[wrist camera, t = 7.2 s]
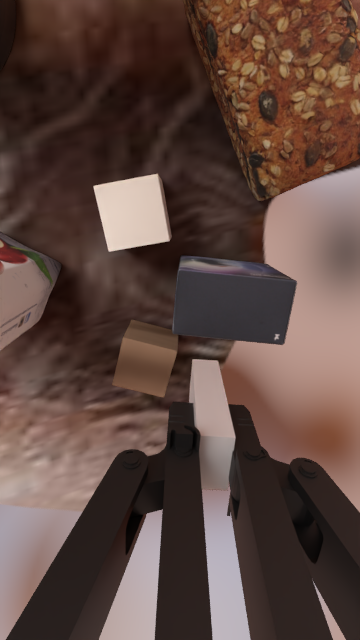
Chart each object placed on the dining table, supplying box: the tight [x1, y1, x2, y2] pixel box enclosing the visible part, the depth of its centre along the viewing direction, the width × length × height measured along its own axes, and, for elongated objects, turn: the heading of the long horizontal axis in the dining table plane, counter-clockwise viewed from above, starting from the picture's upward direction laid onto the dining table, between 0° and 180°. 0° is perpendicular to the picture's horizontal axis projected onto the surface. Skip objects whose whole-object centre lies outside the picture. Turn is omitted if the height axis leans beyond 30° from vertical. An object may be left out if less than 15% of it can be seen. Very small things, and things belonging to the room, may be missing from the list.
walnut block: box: [112, 320, 178, 398], centre depth 38 cm, size 6×6×6 cm
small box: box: [172, 255, 297, 345], centre depth 33 cm, size 11×6×10 cm, turn 85°
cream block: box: [93, 174, 172, 252], centre depth 33 cm, size 6×6×6 cm
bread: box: [183, 0, 360, 201], centre depth 27 cm, size 19×11×10 cm, turn 24°
